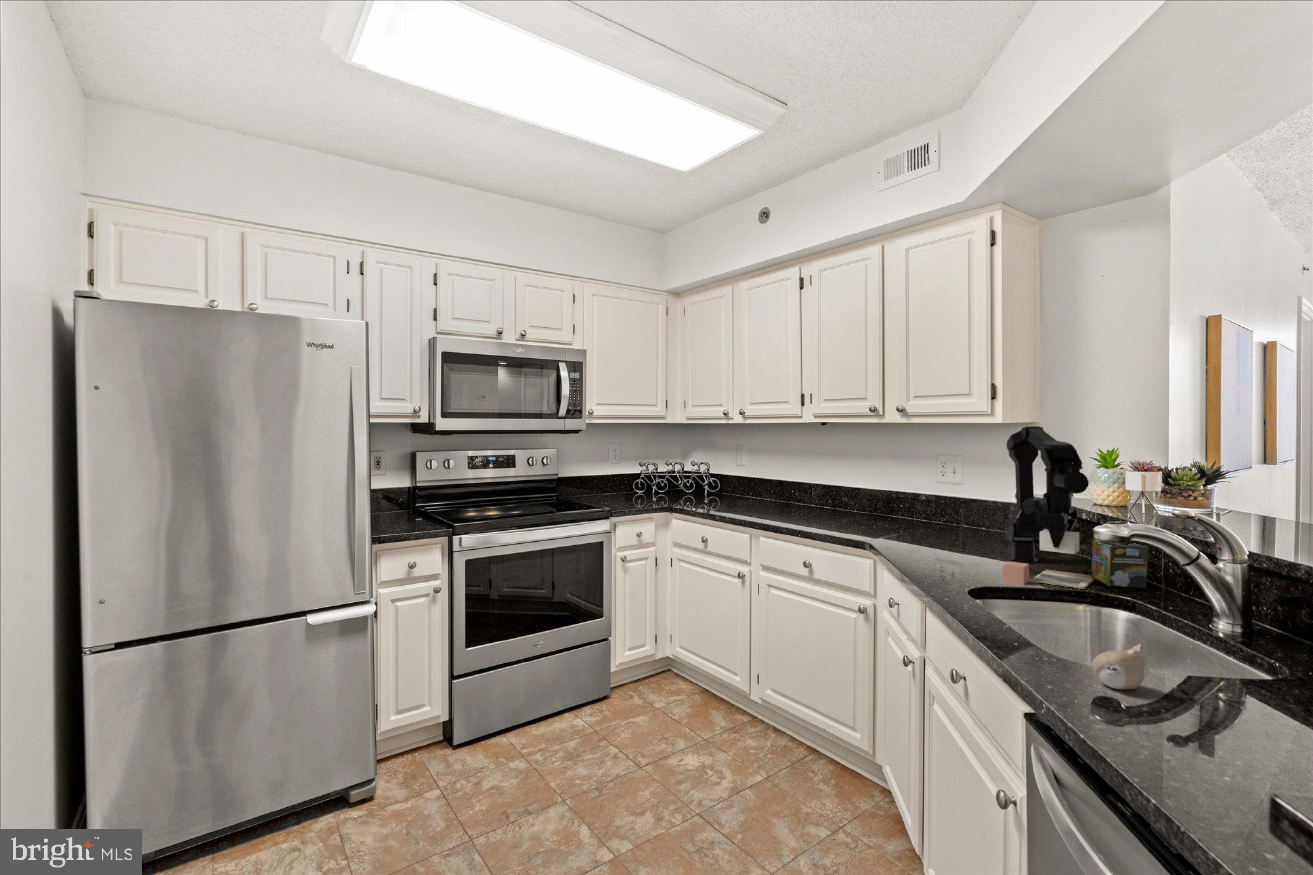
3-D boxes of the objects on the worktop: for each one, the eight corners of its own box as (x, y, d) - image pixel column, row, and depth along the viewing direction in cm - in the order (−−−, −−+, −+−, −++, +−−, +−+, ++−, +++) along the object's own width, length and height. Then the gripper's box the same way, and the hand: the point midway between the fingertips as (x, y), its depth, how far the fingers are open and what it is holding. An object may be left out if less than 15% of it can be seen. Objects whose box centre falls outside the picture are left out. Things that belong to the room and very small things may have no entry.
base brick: (1079, 550, 163) (1079, 532, 163) (1074, 554, 159) (1074, 535, 159) (1045, 546, 169) (1045, 529, 169) (1039, 549, 165) (1039, 532, 165)
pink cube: (1008, 578, 168) (1008, 561, 168) (1029, 581, 164) (1028, 563, 164) (1003, 582, 165) (1003, 564, 165) (1023, 585, 161) (1023, 567, 161)
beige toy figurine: (1122, 698, 95) (1122, 648, 95) (1084, 682, 101) (1083, 635, 101) (1153, 692, 97) (1152, 643, 97) (1113, 676, 103) (1113, 631, 103)
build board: (1046, 571, 175) (1045, 569, 175) (1096, 578, 166) (1095, 575, 166) (1030, 582, 164) (1030, 579, 164) (1083, 590, 155) (1083, 587, 155)
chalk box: (1126, 579, 164) (1129, 525, 163) (1147, 589, 155) (1151, 532, 154) (1089, 576, 166) (1092, 524, 165) (1108, 586, 157) (1111, 531, 156)
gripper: (1034, 484, 176) (1034, 537, 176) (1015, 490, 163) (1015, 547, 163) (1079, 487, 168) (1080, 542, 168) (1063, 493, 155) (1064, 552, 155)
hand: (1059, 545), depth 164 cm, fingers closed on base brick, 6 cm apart
